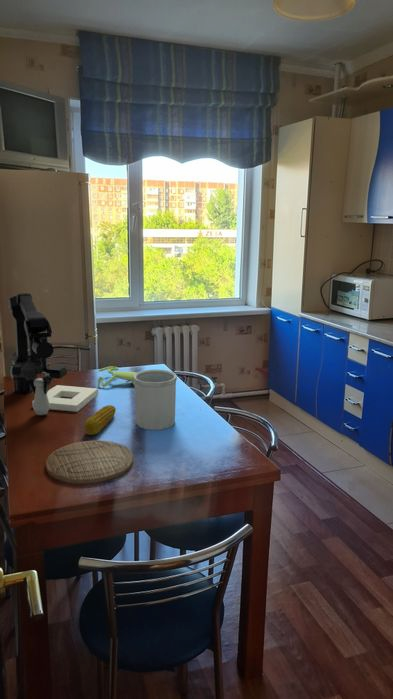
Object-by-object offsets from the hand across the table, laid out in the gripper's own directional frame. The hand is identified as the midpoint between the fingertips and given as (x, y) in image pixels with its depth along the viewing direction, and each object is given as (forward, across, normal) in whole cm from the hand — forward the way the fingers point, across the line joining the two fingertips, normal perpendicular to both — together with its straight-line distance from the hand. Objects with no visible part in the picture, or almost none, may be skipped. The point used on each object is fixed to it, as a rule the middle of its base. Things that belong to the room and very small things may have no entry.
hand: (40, 393), depth 184 cm
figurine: (+9, +16, +44) cm, 47 cm away
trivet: (+9, +32, -31) cm, 45 cm away
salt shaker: (+8, 0, 0) cm, 8 cm away
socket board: (+8, +2, +16) cm, 18 cm away
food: (+9, +24, -4) cm, 26 cm away
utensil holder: (+8, +42, +3) cm, 43 cm away
